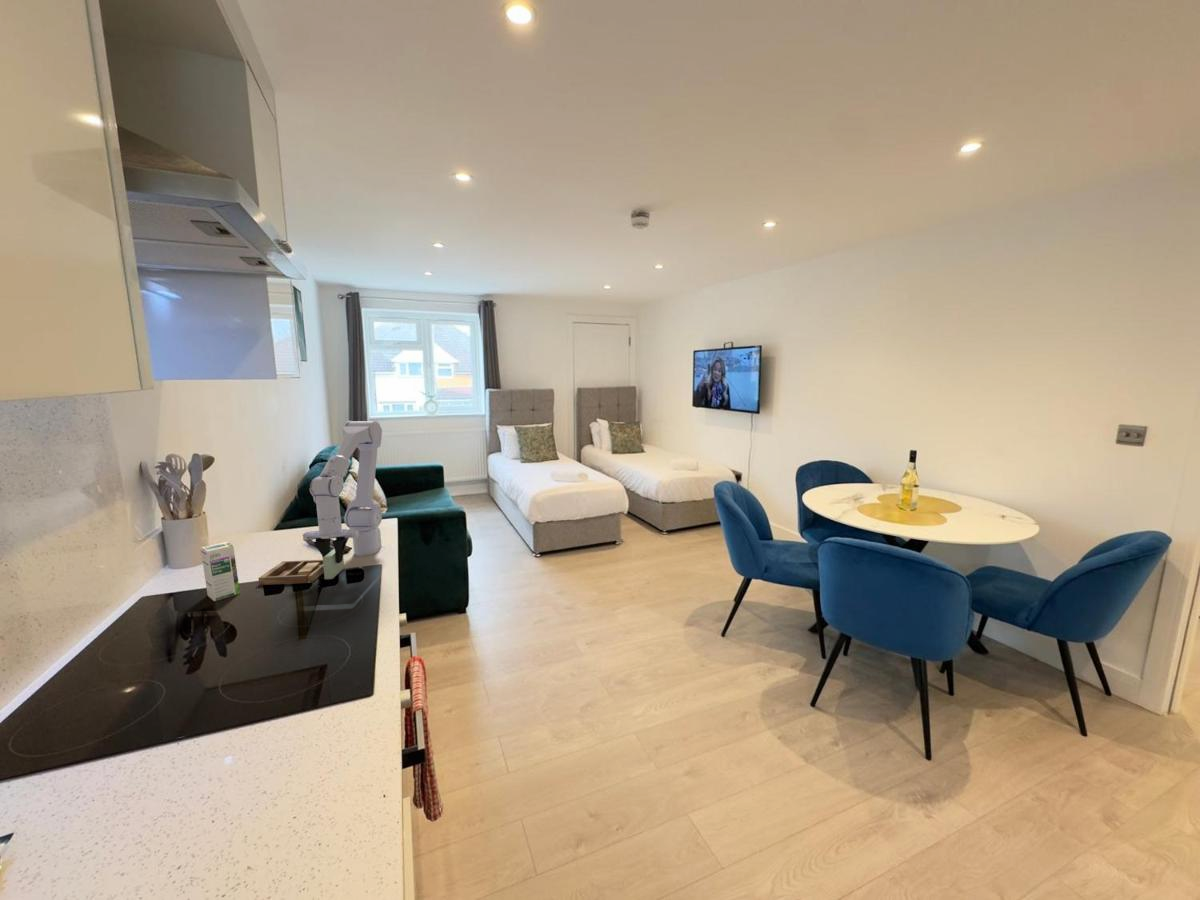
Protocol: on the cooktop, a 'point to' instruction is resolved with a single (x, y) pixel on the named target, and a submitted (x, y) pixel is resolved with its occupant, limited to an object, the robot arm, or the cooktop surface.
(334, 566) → the pale green flat block
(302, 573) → the offcut stack
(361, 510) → the robot arm
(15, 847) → the cooktop surface
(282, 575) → the rack
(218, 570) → the syrup box
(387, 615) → the cooktop surface
